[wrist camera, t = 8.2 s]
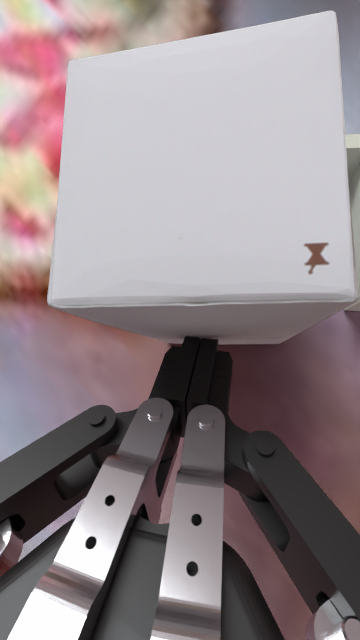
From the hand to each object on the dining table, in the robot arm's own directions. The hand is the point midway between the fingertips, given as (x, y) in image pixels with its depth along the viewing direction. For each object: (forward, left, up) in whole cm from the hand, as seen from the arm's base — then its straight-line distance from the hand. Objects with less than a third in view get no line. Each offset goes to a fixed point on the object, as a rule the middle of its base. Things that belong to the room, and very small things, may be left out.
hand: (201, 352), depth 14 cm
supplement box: (+2, +4, -5) cm, 7 cm away
